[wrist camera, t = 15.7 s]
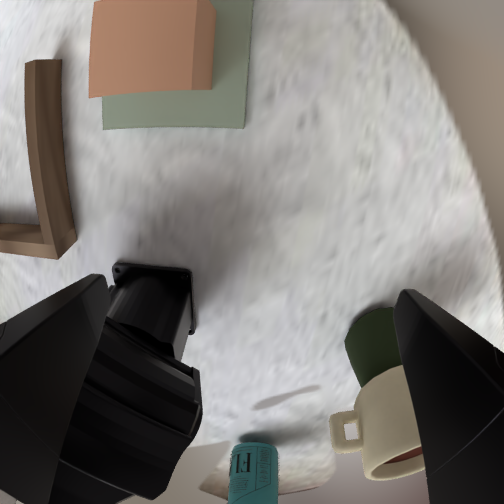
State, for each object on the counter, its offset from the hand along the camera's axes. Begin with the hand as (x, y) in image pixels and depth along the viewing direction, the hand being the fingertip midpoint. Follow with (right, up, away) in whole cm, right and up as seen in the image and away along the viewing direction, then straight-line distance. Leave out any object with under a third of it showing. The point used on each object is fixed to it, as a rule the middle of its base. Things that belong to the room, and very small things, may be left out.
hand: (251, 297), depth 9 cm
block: (-5, +13, +6) cm, 15 cm away
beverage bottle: (+1, -25, +28) cm, 37 cm away
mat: (-5, +13, +7) cm, 15 cm away
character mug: (+11, -6, +17) cm, 21 cm away
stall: (-19, +9, +10) cm, 23 cm away
